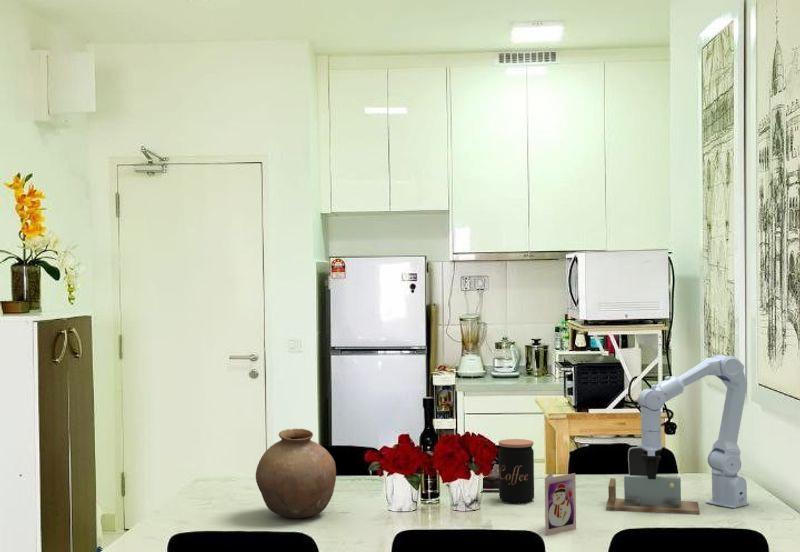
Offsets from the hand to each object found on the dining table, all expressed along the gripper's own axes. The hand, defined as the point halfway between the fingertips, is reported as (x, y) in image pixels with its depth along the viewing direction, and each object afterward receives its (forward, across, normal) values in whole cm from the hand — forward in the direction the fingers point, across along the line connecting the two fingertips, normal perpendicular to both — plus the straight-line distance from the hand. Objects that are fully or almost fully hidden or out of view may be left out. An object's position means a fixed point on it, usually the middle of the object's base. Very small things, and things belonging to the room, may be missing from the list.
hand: (652, 476), depth 289 cm
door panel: (+8, 0, 0) cm, 8 cm away
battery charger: (+9, -39, -5) cm, 40 cm away
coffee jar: (+9, -2, -40) cm, 41 cm away
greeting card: (+9, +32, -26) cm, 42 cm away
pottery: (+9, +32, -99) cm, 104 cm away
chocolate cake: (+10, -25, -53) cm, 59 cm away
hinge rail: (+9, 0, 0) cm, 9 cm away
